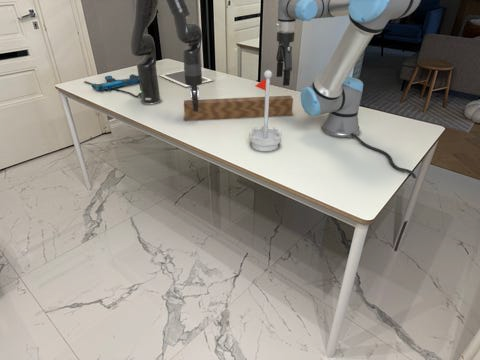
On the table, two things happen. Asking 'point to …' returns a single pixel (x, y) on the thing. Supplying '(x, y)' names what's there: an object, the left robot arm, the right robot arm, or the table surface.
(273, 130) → the flag stand
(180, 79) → the tablet
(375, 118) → the table surface
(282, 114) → the beam
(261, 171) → the table surface
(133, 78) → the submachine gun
